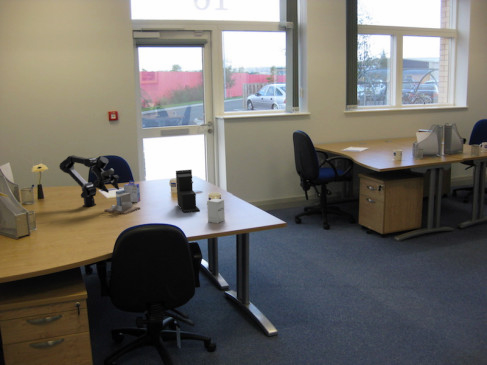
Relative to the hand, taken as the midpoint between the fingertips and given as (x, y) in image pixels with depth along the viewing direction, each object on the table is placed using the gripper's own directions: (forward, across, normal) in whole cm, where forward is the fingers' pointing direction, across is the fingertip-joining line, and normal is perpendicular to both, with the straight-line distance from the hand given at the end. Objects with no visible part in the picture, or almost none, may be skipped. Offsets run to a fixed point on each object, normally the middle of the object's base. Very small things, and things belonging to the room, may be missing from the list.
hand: (113, 190), depth 305 cm
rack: (+13, 0, +4) cm, 14 cm away
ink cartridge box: (+6, +21, +12) cm, 25 cm away
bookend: (+40, +21, -22) cm, 50 cm away
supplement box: (+63, +3, -46) cm, 78 cm away
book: (+12, 0, +3) cm, 13 cm away
